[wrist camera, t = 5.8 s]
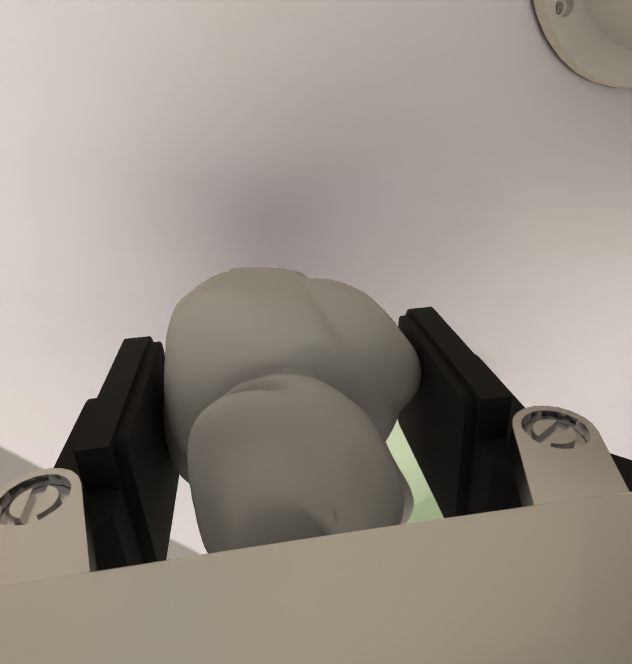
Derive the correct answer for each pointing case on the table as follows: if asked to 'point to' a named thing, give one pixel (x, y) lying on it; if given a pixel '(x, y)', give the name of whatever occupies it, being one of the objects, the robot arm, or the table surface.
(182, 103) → the table surface
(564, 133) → the table surface
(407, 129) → the table surface
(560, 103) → the table surface
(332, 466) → the rubber duck
